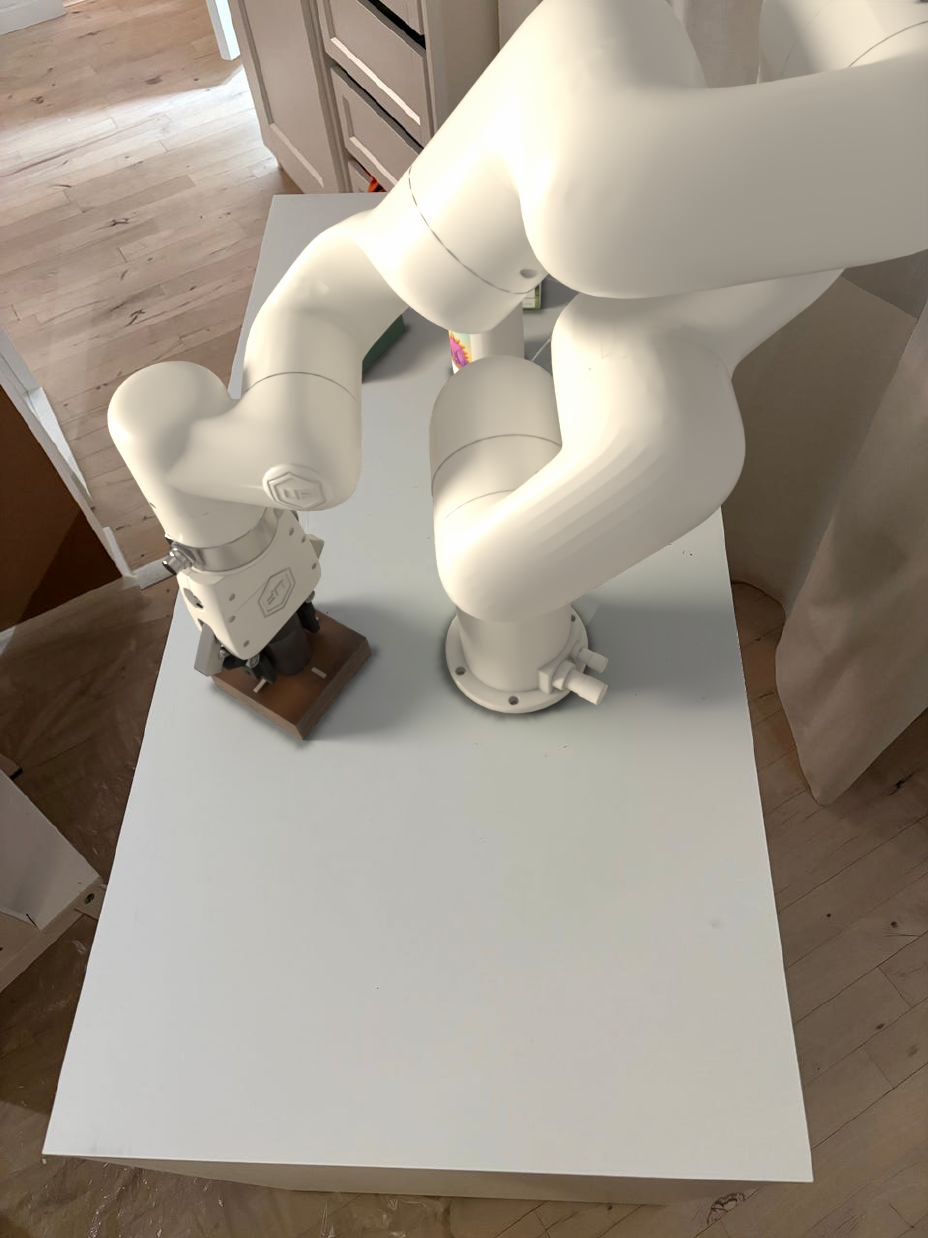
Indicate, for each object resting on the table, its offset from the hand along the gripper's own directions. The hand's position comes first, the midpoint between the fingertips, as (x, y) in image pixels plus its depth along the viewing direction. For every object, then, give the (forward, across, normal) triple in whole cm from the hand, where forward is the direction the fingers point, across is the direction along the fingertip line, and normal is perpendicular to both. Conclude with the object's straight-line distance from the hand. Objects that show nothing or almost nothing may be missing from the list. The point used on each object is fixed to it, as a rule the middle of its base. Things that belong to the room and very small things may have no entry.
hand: (283, 647), depth 82 cm
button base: (+4, +36, +22) cm, 42 cm away
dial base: (+4, 0, 0) cm, 4 cm away
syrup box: (+4, +52, +9) cm, 53 cm away
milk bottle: (+4, +40, +5) cm, 41 cm away
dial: (+1, 0, 0) cm, 1 cm away
